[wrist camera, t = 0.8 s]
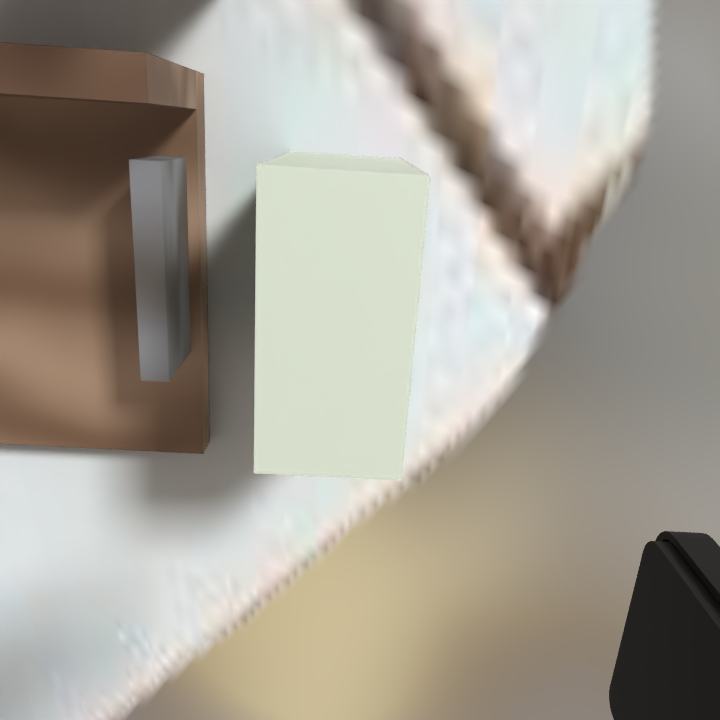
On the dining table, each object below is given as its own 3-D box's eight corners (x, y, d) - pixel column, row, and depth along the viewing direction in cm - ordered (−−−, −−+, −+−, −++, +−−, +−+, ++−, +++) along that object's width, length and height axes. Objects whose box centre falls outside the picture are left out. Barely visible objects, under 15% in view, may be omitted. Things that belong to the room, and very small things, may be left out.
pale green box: (292, 150, 30) (256, 164, 19) (401, 157, 30) (430, 175, 19) (287, 355, 33) (253, 473, 22) (384, 361, 33) (401, 480, 22)
